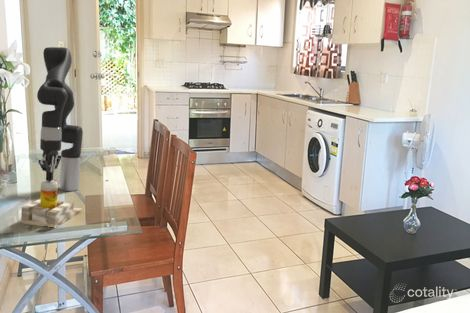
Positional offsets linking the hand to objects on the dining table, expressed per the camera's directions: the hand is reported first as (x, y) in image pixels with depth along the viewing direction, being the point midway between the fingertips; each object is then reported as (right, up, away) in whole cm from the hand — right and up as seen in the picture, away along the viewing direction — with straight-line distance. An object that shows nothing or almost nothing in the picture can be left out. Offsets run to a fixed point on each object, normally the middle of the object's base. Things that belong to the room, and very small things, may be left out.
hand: (49, 180), depth 163 cm
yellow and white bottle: (-2, -15, +3) cm, 15 cm away
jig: (-1, -16, +7) cm, 17 cm away
